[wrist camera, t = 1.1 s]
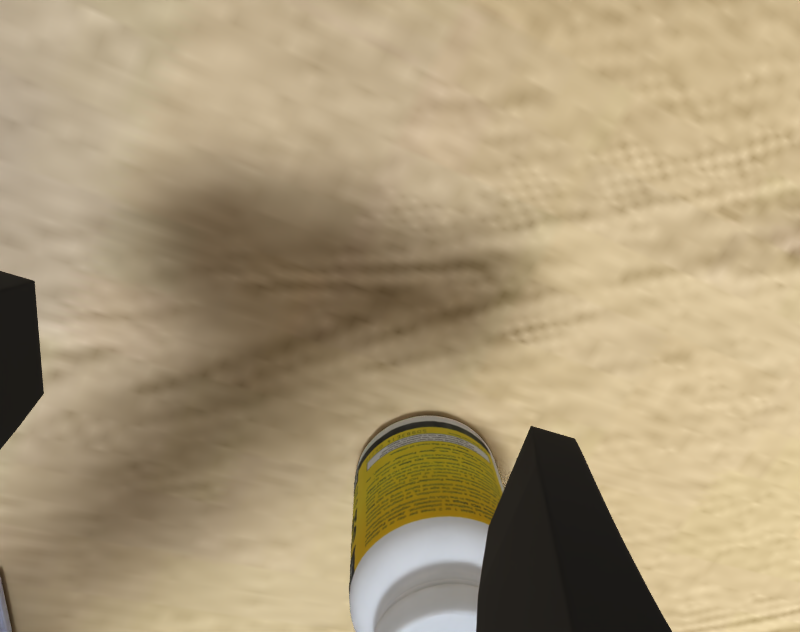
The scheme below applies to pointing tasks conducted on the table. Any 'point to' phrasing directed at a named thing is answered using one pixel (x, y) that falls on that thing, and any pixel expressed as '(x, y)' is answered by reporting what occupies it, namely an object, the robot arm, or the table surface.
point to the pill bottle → (421, 527)
